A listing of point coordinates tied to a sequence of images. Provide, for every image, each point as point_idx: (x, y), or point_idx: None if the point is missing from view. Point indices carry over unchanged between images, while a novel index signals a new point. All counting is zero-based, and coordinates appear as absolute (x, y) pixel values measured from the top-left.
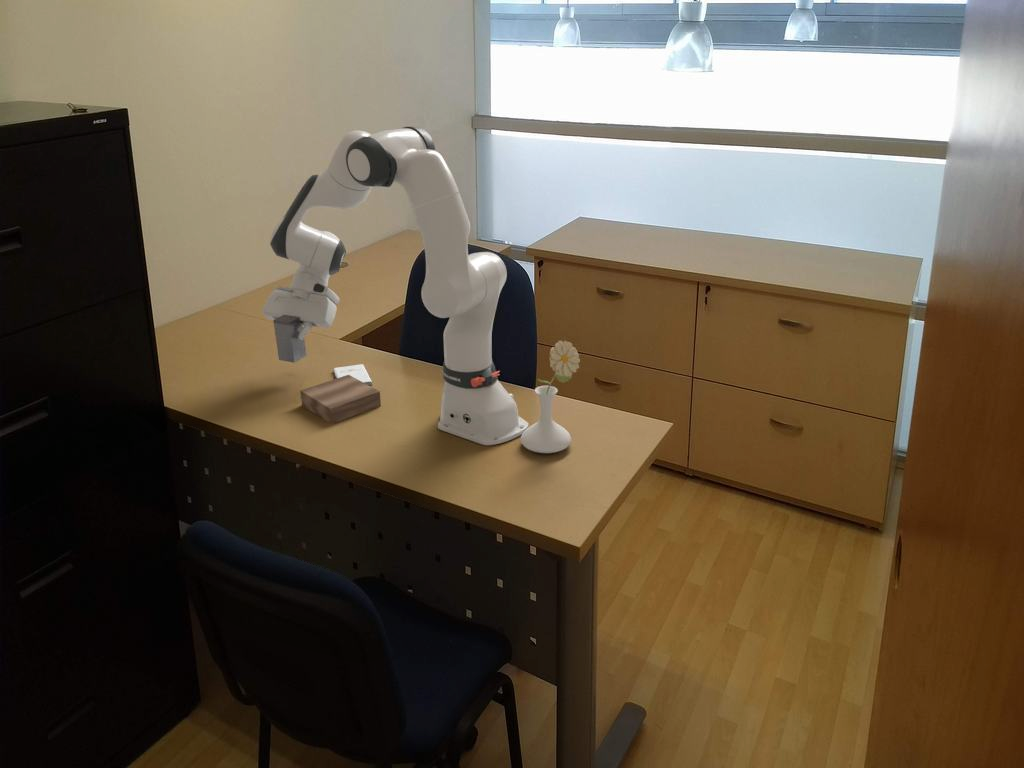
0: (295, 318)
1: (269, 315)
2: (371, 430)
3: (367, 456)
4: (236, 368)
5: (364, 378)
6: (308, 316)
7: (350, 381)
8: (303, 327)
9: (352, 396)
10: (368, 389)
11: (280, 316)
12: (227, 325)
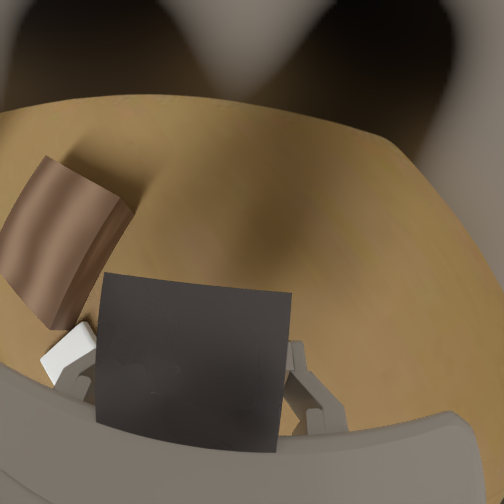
0: (107, 384)
1: (409, 421)
2: (14, 181)
3: (21, 128)
4: (418, 348)
5: (56, 373)
6: (29, 406)
7: (33, 288)
8: (86, 364)
9: (18, 215)
10: (2, 258)
11: (281, 402)
12: (491, 468)
